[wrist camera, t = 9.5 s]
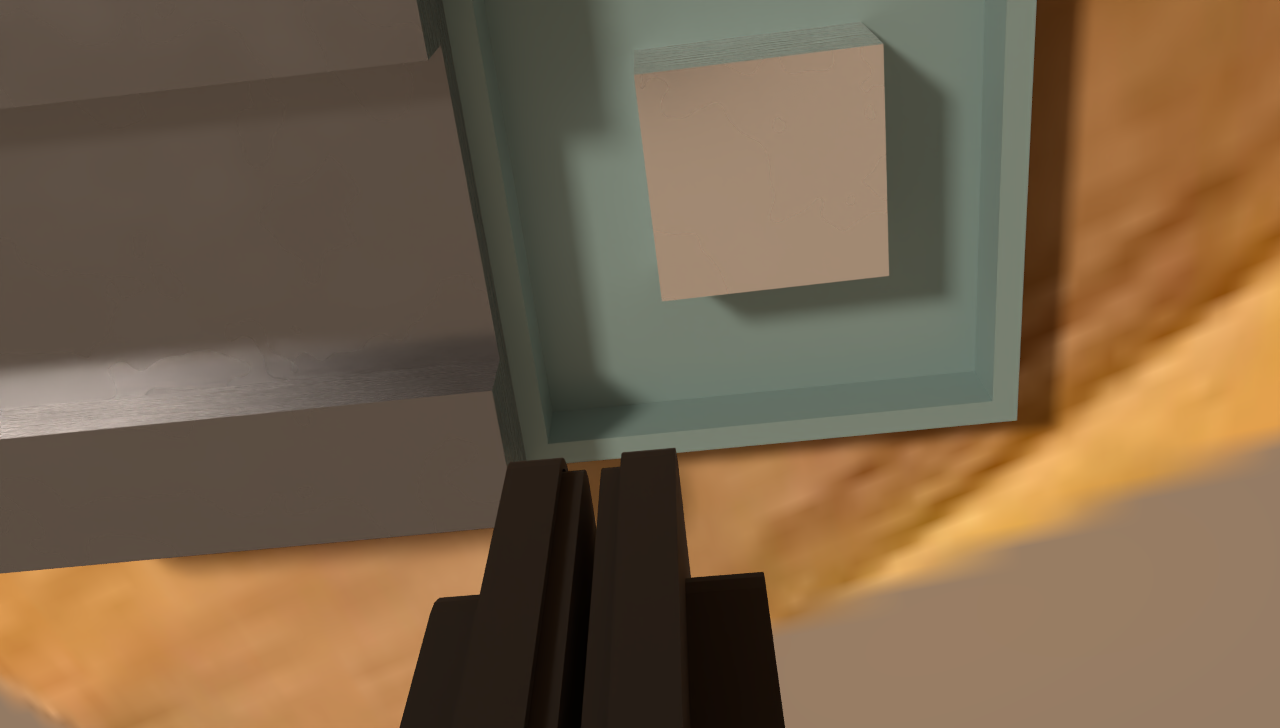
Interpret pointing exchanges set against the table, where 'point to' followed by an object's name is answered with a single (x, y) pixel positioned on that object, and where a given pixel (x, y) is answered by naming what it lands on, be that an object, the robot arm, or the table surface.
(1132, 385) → the table surface
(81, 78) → the slotted ledge
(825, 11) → the tray
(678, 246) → the tan square block
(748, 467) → the table surface
